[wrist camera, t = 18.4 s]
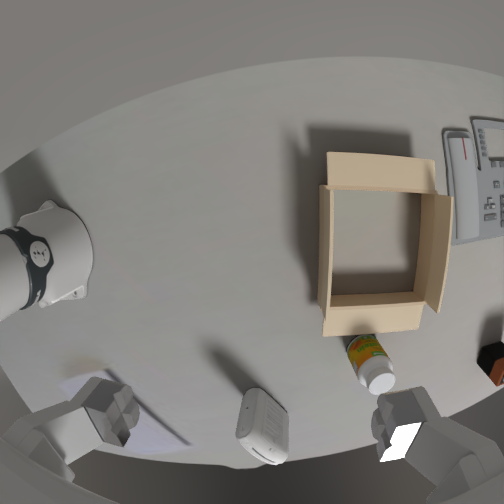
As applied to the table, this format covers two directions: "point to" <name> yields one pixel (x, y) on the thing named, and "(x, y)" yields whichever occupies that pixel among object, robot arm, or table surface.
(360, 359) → the supplement bottle
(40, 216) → the robot arm
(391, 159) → the carton
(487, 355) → the battery
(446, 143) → the office telephone
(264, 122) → the table surface
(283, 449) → the photo printer
